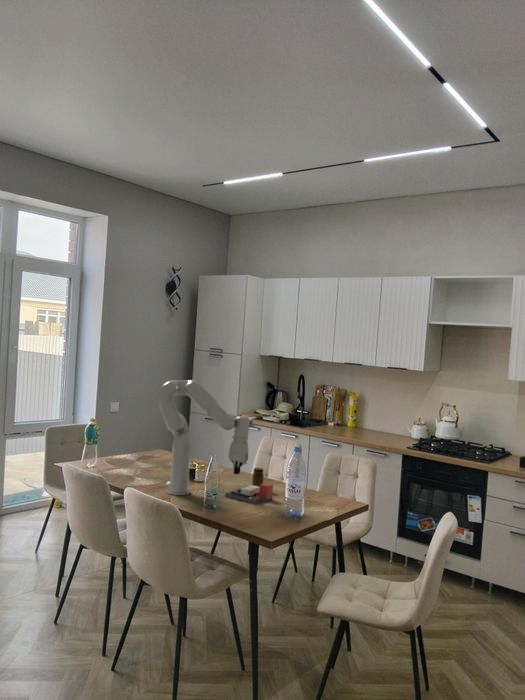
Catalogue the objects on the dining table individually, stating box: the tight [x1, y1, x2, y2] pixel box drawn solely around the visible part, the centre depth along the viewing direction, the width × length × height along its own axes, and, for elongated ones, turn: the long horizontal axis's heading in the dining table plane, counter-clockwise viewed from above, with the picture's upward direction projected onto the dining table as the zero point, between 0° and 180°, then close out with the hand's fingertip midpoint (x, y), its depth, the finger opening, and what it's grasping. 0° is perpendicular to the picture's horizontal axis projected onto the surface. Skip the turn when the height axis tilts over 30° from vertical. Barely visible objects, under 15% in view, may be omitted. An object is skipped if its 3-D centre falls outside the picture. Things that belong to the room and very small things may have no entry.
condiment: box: [251, 467, 264, 487], centre depth 316 cm, size 7×8×12 cm
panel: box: [224, 488, 273, 506], centre depth 298 cm, size 20×15×3 cm
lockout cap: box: [259, 482, 274, 498], centre depth 297 cm, size 5×5×6 cm
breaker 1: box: [240, 486, 254, 496], centre depth 296 cm, size 5×5×3 cm
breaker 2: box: [247, 484, 260, 494], centre depth 301 cm, size 5×5×3 cm
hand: (236, 473), depth 300 cm, fingers closed
